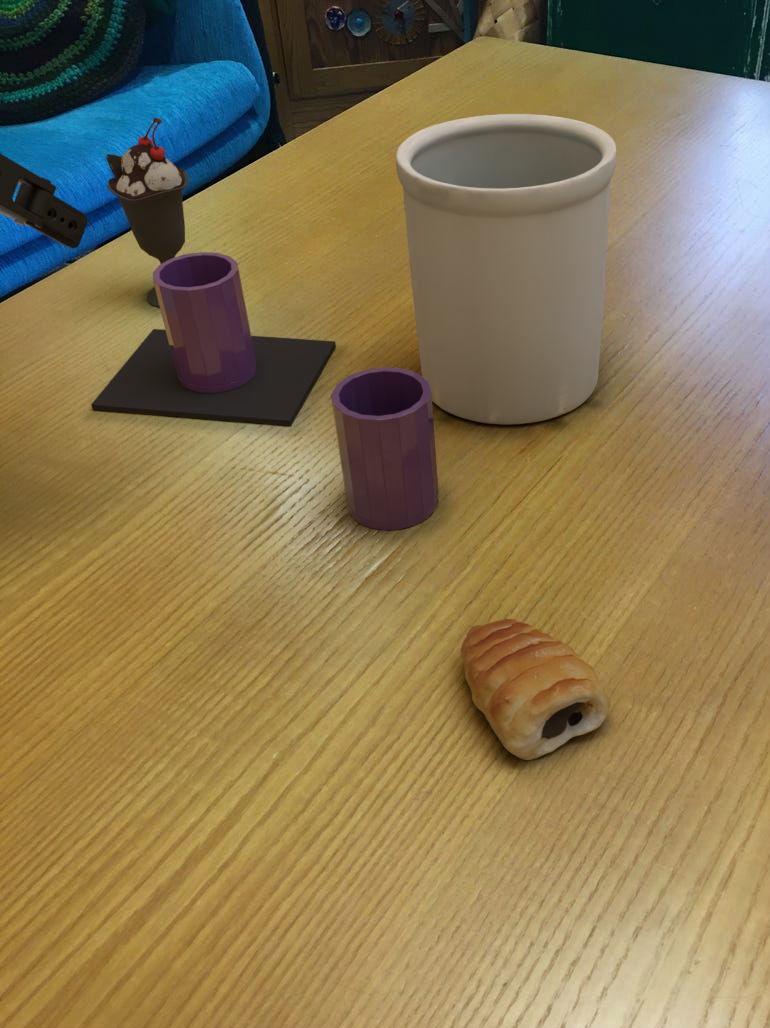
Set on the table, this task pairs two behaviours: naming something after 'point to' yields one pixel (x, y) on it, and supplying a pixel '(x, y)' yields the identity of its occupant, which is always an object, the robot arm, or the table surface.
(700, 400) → the table surface
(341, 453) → the purple tumbler
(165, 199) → the sundae
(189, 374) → the purple cup
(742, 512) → the table surface
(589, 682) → the pastry
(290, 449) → the table surface
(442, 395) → the utensil holder
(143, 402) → the mat
